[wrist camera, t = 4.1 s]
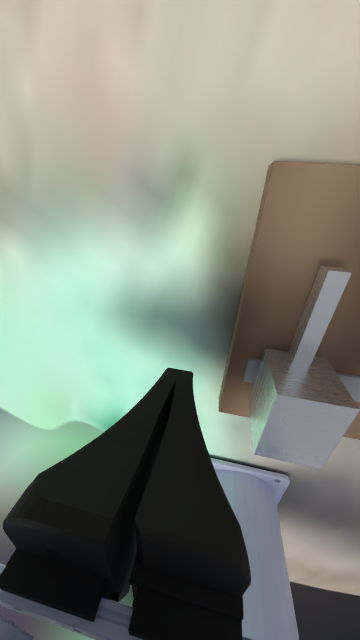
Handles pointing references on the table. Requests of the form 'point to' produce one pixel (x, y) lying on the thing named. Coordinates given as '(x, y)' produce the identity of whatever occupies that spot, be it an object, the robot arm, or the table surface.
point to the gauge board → (298, 276)
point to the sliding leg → (303, 387)
